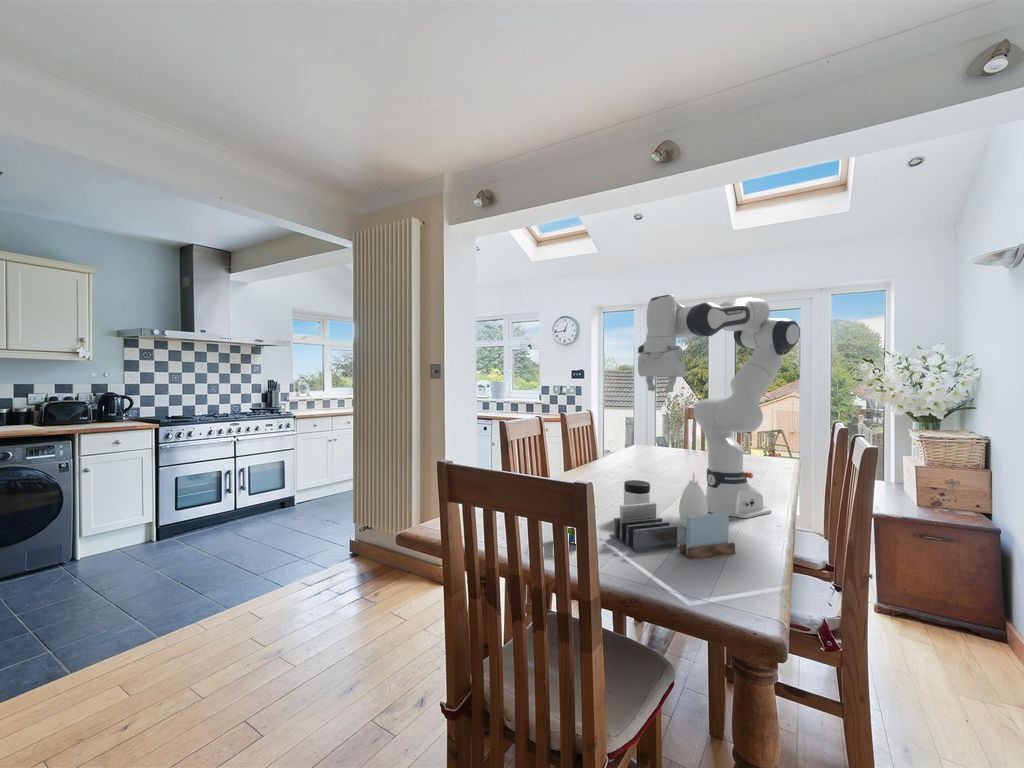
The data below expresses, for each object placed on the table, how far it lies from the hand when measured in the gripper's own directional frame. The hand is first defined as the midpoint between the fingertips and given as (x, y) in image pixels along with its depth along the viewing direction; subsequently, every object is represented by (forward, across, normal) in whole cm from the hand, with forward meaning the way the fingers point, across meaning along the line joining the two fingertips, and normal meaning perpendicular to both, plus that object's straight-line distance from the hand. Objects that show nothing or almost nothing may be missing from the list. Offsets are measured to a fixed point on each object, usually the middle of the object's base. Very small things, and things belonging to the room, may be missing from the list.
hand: (660, 391), depth 144 cm
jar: (+42, +7, +3) cm, 43 cm away
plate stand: (+42, -25, +2) cm, 49 cm away
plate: (+41, -25, +2) cm, 48 cm away
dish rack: (+42, -13, +13) cm, 46 cm away
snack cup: (+42, -5, +30) cm, 52 cm away
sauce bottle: (+42, -8, -7) cm, 43 cm away
